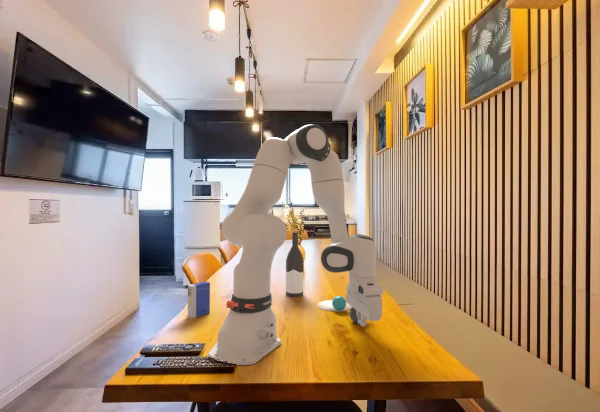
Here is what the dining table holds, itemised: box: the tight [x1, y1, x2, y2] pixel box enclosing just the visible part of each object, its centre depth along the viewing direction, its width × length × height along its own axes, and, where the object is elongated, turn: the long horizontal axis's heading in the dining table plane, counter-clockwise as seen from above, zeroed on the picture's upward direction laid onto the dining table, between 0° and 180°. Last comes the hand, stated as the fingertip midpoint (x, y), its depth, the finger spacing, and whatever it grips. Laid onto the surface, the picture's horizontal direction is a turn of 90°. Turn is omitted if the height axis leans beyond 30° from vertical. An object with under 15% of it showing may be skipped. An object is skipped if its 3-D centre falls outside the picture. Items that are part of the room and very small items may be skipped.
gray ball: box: [348, 307, 359, 324], centre depth 116 cm, size 6×6×6 cm
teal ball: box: [332, 295, 347, 312], centre depth 128 cm, size 6×6×6 cm
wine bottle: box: [285, 228, 305, 298], centre depth 150 cm, size 8×8×30 cm
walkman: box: [187, 280, 211, 319], centre depth 121 cm, size 8×3×12 cm, turn 139°
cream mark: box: [317, 299, 352, 312], centre depth 134 cm, size 14×14×1 cm
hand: (361, 324), depth 109 cm, fingers closed
